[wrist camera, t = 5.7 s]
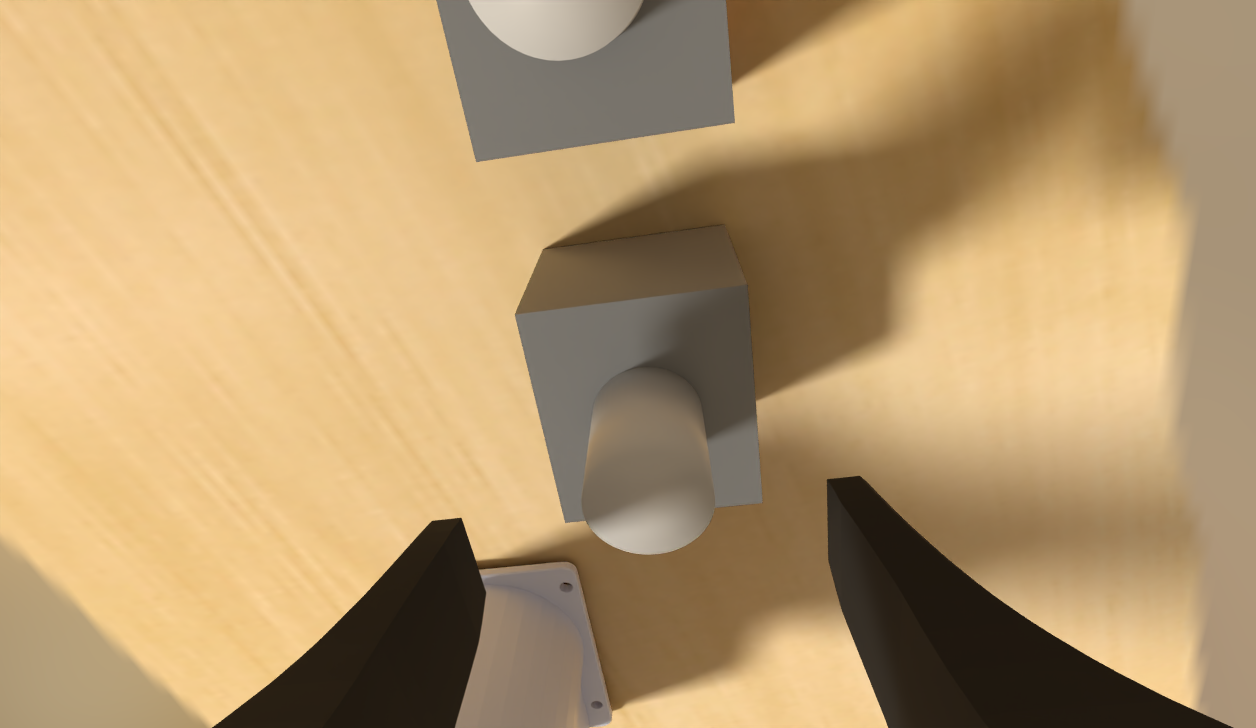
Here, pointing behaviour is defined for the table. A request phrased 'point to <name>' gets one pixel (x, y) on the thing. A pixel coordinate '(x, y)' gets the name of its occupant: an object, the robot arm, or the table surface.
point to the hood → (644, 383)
